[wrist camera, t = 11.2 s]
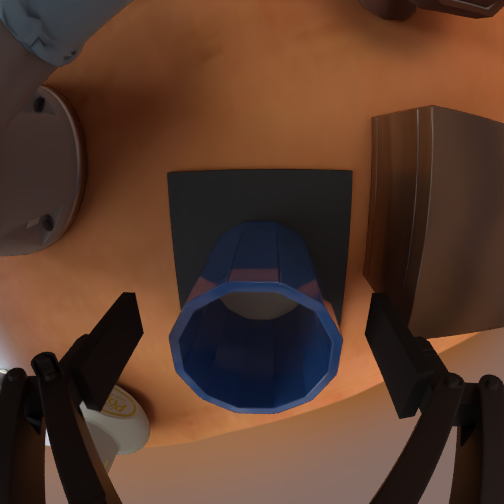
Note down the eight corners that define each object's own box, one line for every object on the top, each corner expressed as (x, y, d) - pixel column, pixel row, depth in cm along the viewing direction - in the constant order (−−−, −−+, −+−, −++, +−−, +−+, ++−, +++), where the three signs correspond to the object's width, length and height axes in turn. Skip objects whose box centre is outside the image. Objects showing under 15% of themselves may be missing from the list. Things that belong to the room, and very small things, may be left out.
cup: (211, 318, 25) (183, 409, 15) (204, 221, 22) (158, 280, 13) (311, 319, 24) (329, 412, 15) (317, 221, 22) (351, 280, 12)
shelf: (362, 275, 23) (403, 341, 15) (371, 117, 19) (431, 104, 11) (506, 270, 22) (562, 313, 14) (522, 146, 18) (592, 159, 10)
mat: (187, 347, 26) (186, 349, 26) (168, 172, 21) (167, 173, 21) (335, 348, 26) (336, 351, 25) (351, 170, 21) (352, 171, 20)
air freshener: (163, 400, 29) (135, 475, 20) (148, 435, 32) (126, 499, 23) (73, 355, 28) (27, 417, 19) (71, 397, 31) (36, 452, 22)
